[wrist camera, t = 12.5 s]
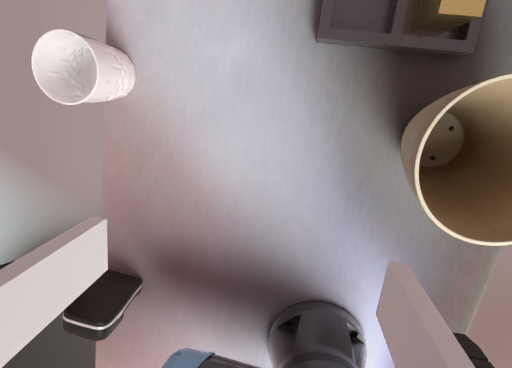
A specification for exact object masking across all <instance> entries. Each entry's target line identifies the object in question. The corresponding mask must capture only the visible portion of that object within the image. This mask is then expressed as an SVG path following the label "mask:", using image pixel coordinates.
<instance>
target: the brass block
mask: <svg viewBox="0 0 512 368" xmlns="http://www.w3.org/2000/svg"><path fill="white" fill-rule="evenodd" d="M485 3H486V0H417V2H416V6H415V11H414V15H413V20H412V25H411V29H412V30H423V31H434V32H447V31H450V30H452V29H454V28H457V27H459V26H461V25H464V24H466V23H468V22H471V21H473V20H476V19H478V18H480V17H482V14H483V10H484V6H485Z"/></svg>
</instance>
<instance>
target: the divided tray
mask: <svg viewBox="0 0 512 368" xmlns="http://www.w3.org/2000/svg"><path fill="white" fill-rule="evenodd" d="M416 2H417V0H322V6H321V13H320V20H319V27H318V34H317V41H316V42H318V43H329V44H339V45H350V46H360V47H371V48H381V49H392V50H403V51H413V52H424V53H434V54H445V55H456V56H463V55H467V54H471V53H474V51H475V47H476V43H477V40H478V36H479V32H480V28H481V25H482V21H483V17H484V14H485V10H486V6H487V2H488V0H486V3H485V6H484V10H483V14H482V17H480V18H478V19H476V20H473V21H471V22H468V23H466V24H464V25H461V26H459V27H457V28H454V29H452V30H450V31H447V32H434V31H423V30H412V29H411V25H412V20H413V15H414V11H415V6H416Z"/></svg>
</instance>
